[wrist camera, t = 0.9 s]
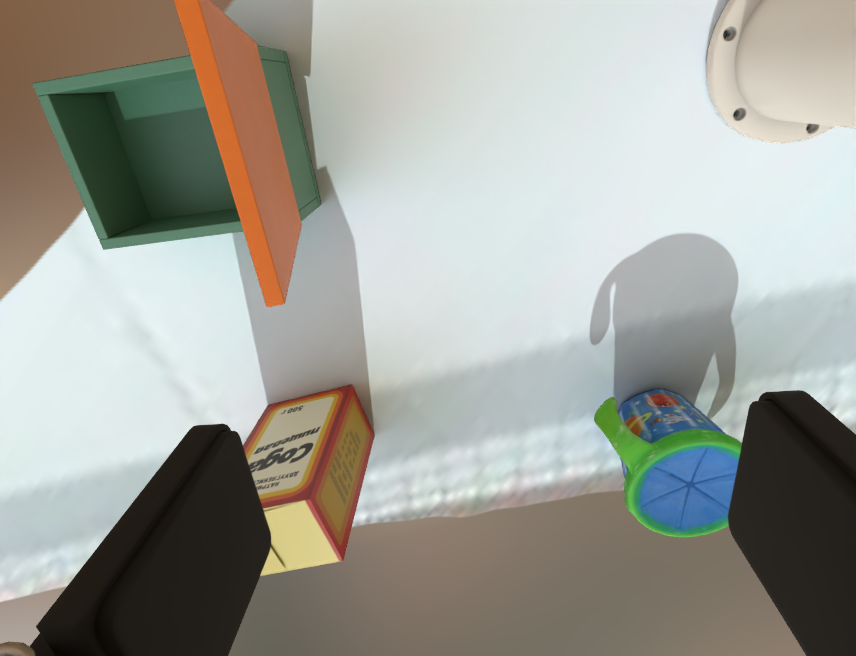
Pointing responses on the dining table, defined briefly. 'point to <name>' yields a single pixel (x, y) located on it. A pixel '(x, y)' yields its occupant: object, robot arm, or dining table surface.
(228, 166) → the lid
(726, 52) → the robot arm
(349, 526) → the baking soda box
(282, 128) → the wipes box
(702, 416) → the snack cup
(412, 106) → the dining table surface
